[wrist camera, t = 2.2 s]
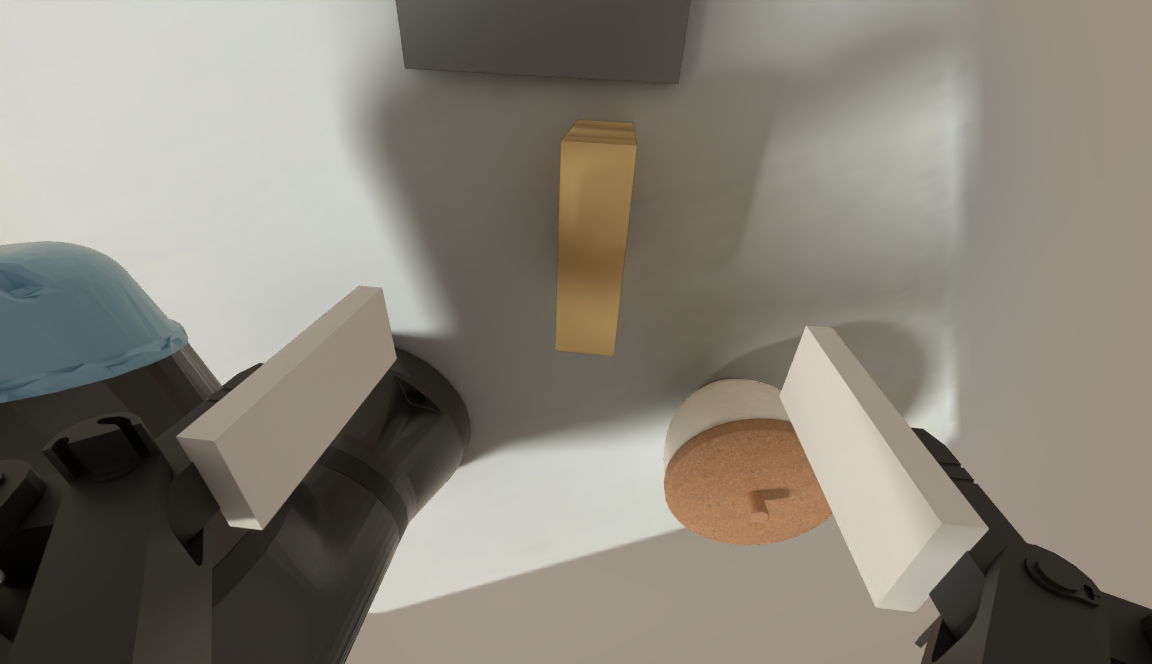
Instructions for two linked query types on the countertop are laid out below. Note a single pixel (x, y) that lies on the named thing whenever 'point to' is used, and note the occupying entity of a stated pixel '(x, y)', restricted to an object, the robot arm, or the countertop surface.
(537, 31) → the mat
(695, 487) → the lidded jar
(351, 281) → the countertop surface
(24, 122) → the countertop surface
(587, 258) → the block
